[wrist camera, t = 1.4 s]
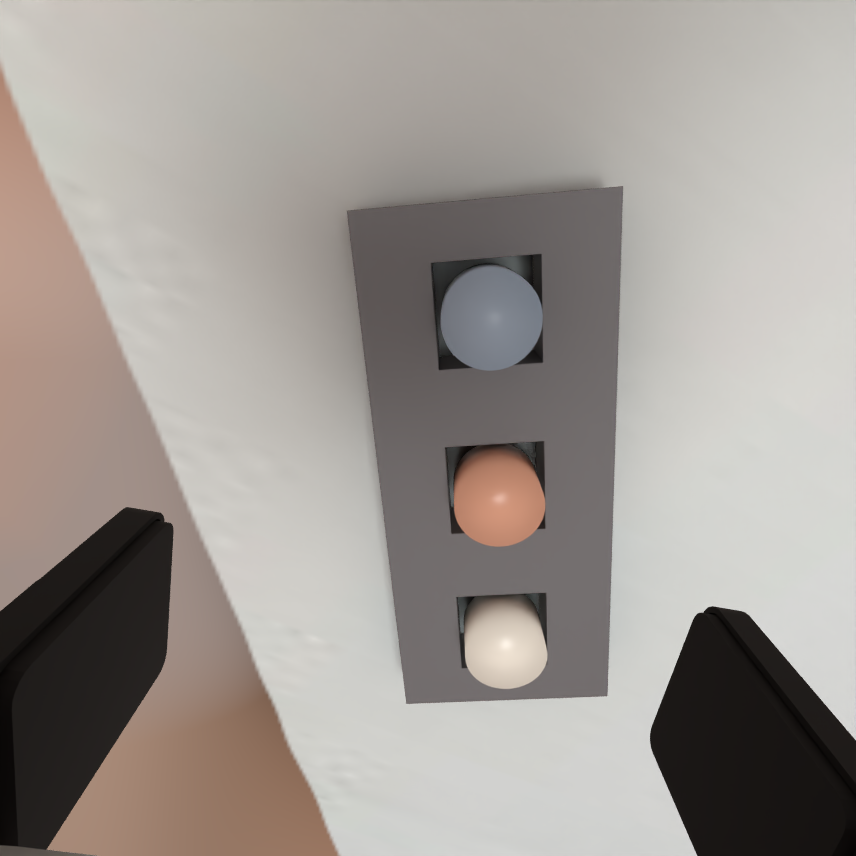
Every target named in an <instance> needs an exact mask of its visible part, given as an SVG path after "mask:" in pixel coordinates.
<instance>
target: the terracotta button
mask: <svg viewBox="0 0 856 856" xmlns="http://www.w3.org/2000/svg"><path fill="white" fill-rule="evenodd" d="M454 511H455V516H456V520H457V522H458V524H459V526H460V527H461V529H462V530H463V531H464V532H465V534H467V535H468V536H469V537H470V538H472V539H473V540H475V541H477V542H479V543H481V544H484V545H488V546H495V547H502V546H509V545H513V544H516V543H519V542H521V541H523V540H525V539H526V538H528V537H529V536H530V535H531V534H533V533H534V531H535V530H536V529H537V528H538V527H539V525H540V523H541V521H542V519H543V516H544V513H545V497H544V493H543V491H542V488H541V485H540V482H539V479H538V477H537V474H536V471H535V468H534V466H533V464H532V462H531V460H530V459H529V457H528V456H527V455H526V454H525V453H524V452H523V451H521V450H520V449H518V448H516V447H514V446H512V445H509V444H505V443H504V444H489V445H480V446H477V447H475V448H473V449H472V450H470V451H469V452H468V453H466V454H465V455H464V456H463V458H462V459H461V460H460V462H459V463H458V465H457V467H456V470H455V473H454Z"/></svg>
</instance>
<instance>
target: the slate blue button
mask: <svg viewBox="0 0 856 856" xmlns="http://www.w3.org/2000/svg"><path fill="white" fill-rule="evenodd" d="M542 323H543V313H542V307H541V303H540V300H539V297H538V295H537V294H536V292H535V290H534V289H533V287H532V286H531V285H530V284H529V283H528V282H527V281H526V280H525V279H524V278H522V277H521V276H520V275H518V274H517V273H515V272H514V271H512V270H511V269H509V268H507V267H504V266H501V265H497V264H480V265H476V266H472V267H470V268H468V269H466V270H464V271H463V272H461V273H460V274H459V275H457V276H456V277H455V278H454V280H453V281H452V282H451V283H450V285H449V286H448V288H447V290H446V292H445V294H444V297H443V301H442V307H441V331H442V335H443V338H444V341H445V343H446V345H447V347H448V348H449V350H450V351H451V352H452V354H453V355H454V356H455V357H456V358H457V359H459V360H460V361H461V362H463V363H464V364H466V365H468V366H470V367H473V368H475V369H479V370H486V371H494V370H501V369H505V368H508V367H510V366H513V365H514V364H516V363H518V362H519V361H521V360H522V359H523V358H525V357H526V356H527V355H528V354H529V353H530V351H531V350H532V349H533V347H534V346H535V344H536V343H537V340H538V338H539V336H540V333H541V329H542Z"/></svg>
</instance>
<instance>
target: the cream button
mask: <svg viewBox="0 0 856 856" xmlns="http://www.w3.org/2000/svg"><path fill="white" fill-rule="evenodd" d="M464 640H465V660H466V664H467V667H468V669H469V671H470V673H471V674H472V675H473V676H474V677H475V678H476V679H477V680H478V681H480V682H481V683H483V684H485V685H487V686H490V687H494V688H499V689H512V688H518V687H521V686H524V685H526V684H528V683H530V682H532V681H533V680H535V679H536V678H537V677H538V676H539V675H540V674H541V672H542V671H543V669H544V668H545V665H546V662H547V648H546V644H545V640H544V635H543V631H542V627H541V623H540V618H539V614H538V610H537V608H536V606H535V604H534V603H533V602H532V601H531V599H529V598H528V597H527V596H526V595H524V594H506V595H485V596H477V597H475V598H474V599H473V600H472V601H471V602H470V603H469V605H468V606H467V608H466V611H465V614H464Z"/></svg>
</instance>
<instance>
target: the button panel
mask: <svg viewBox="0 0 856 856" xmlns="http://www.w3.org/2000/svg"><path fill="white" fill-rule="evenodd" d="M622 203H623V186H620V187H609V188H598V189H586V190H575V191H564V192H553V193H541V194H530V195H519V196H507V197H496V198H485V199H474V200H462V201H451V202H440V203H429V204H417V205H406V206H395V207H383V208H372V209H361V210H350V211H347V215H348V223H349V231H350V240H351V248H352V256H353V265H354V273H355V281H356V289H357V298H358V306H359V314H360V323H361V331H362V339H363V347H364V356H365V364H366V372H367V381H368V389H369V397H370V406H371V414H372V422H373V430H374V439H375V447H376V455H377V464H378V472H379V480H380V488H381V497H382V505H383V513H384V522H385V530H386V538H387V547H388V555H389V563H390V571H391V580H392V588H393V596H394V605H395V613H396V621H397V629H398V638H399V646H400V654H401V663H402V671H403V679H404V688H405V696H406V704H413V703H440V702H466V701H493V700H519V699H545V698H572V697H598V696H607V692H608V659H609V627H610V594H611V562H612V529H613V496H614V464H615V431H616V398H617V366H618V333H619V301H620V268H621V235H622ZM519 255H532V260H533V289H534V290H535V292H536V294H537V295H538V297H539V300H540V303H541V307H542V313H543V323H542V329H541V333H540V336H539V338H538V340H537V343H536V344H535V346H534V350H531V351H530V353H529V354H528V355H527V356H526V357H525V358H523V359H522V360H521V361H519V362H518V363H516V364H514V365H513V366H510V367H508V368H505V369H501V370H494V371H486V370H479V369H475V368H473V367H470V366H468V365H466V364H464V363H463V362H461V361H460V360H459V359H457V358H456V357H455V356H443V357H440V356H439V343H438V330H437V316H436V303H435V290H434V277H433V264H432V263H435V262H447V261H459V260H471V259H483V258H495V257H507V256H519ZM520 442H536V469H537V477H538V479H539V482H540V485H541V488H542V491H543V493H544V497H545V513H544V516H543V519H542V521H541V523H540V525H539V527H538V528H537V529H536V530H535V531H534V533H533V534H531V535H530V536H529V537H528V538H526V539H525V540H523V541H521V542H519V543H516V544H513V545H509V546H502V547H495V546H488V545H484V544H481V543H479V542H477V541H475V540H473V539H472V538H470V537H469V536H468V535H467V534H465V532H464V531H463V530H462V529H461V527H460V526H459V524H458V522H457V520H456V516H455V511H454V508H451V501H450V488H449V475H448V462H447V448H446V447H457V446H473V445H489V444H504V443H520ZM527 593H539V618H540V623H541V627H542V631H543V635H544V640H545V644H546V648H547V662H546V665H545V668H544V669H543V671H542V672H541V674H540V675H539V676H538V677H537V678H536V679H535V680H533V681H532V682H530V683H528V684H526V685H524V686H521V687H518V688H512V689H499V688H494V687H490V686H487V685H485V684H483V683H481V682H480V681H478V680H477V679H476V678H475V677H474V676H473V675H472V674H471V673H470V671H469V669H468V667H467V664H466V660H465V640H464V634H461V633H460V620H459V607H458V597H465V596H485V595H506V594H527Z"/></svg>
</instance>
